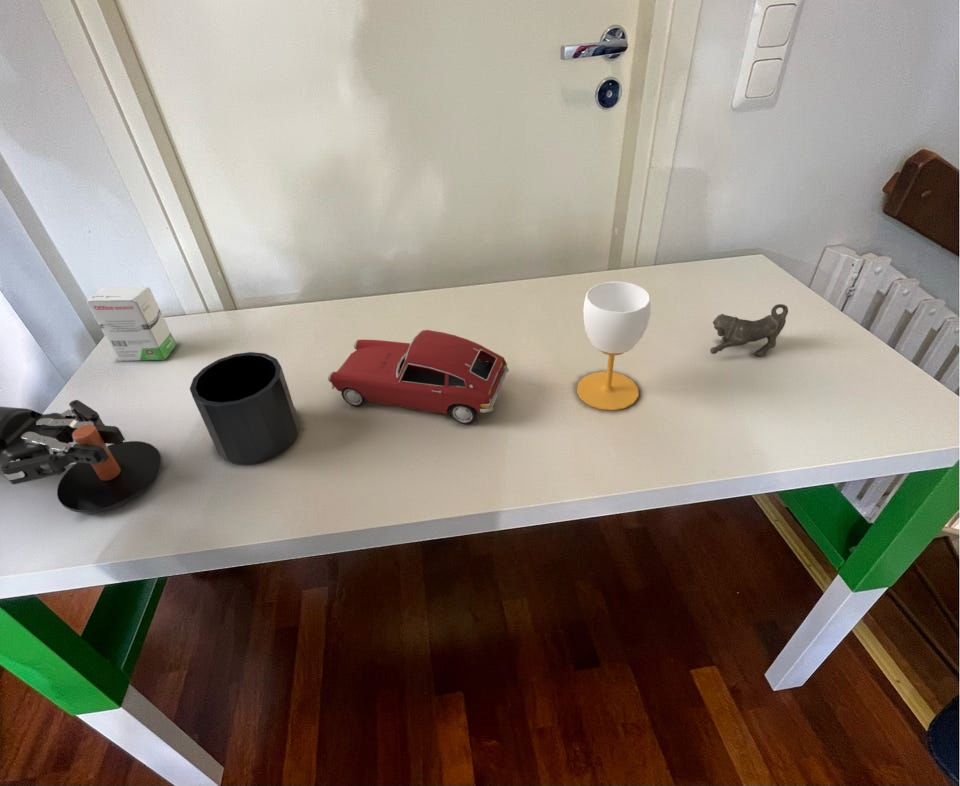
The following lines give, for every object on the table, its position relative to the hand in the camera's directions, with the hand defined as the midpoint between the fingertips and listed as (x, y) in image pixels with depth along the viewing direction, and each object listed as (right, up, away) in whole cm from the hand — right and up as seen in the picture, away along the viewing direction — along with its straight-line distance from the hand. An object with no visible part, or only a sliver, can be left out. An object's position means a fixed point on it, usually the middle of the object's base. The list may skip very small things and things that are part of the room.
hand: (112, 445), depth 74 cm
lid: (-3, -4, +4) cm, 7 cm away
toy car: (+37, +6, +16) cm, 41 cm away
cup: (+65, +7, +15) cm, 67 cm away
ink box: (-11, +13, +29) cm, 33 cm away
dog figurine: (+88, +14, +22) cm, 91 cm away
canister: (+14, 0, +10) cm, 18 cm away
